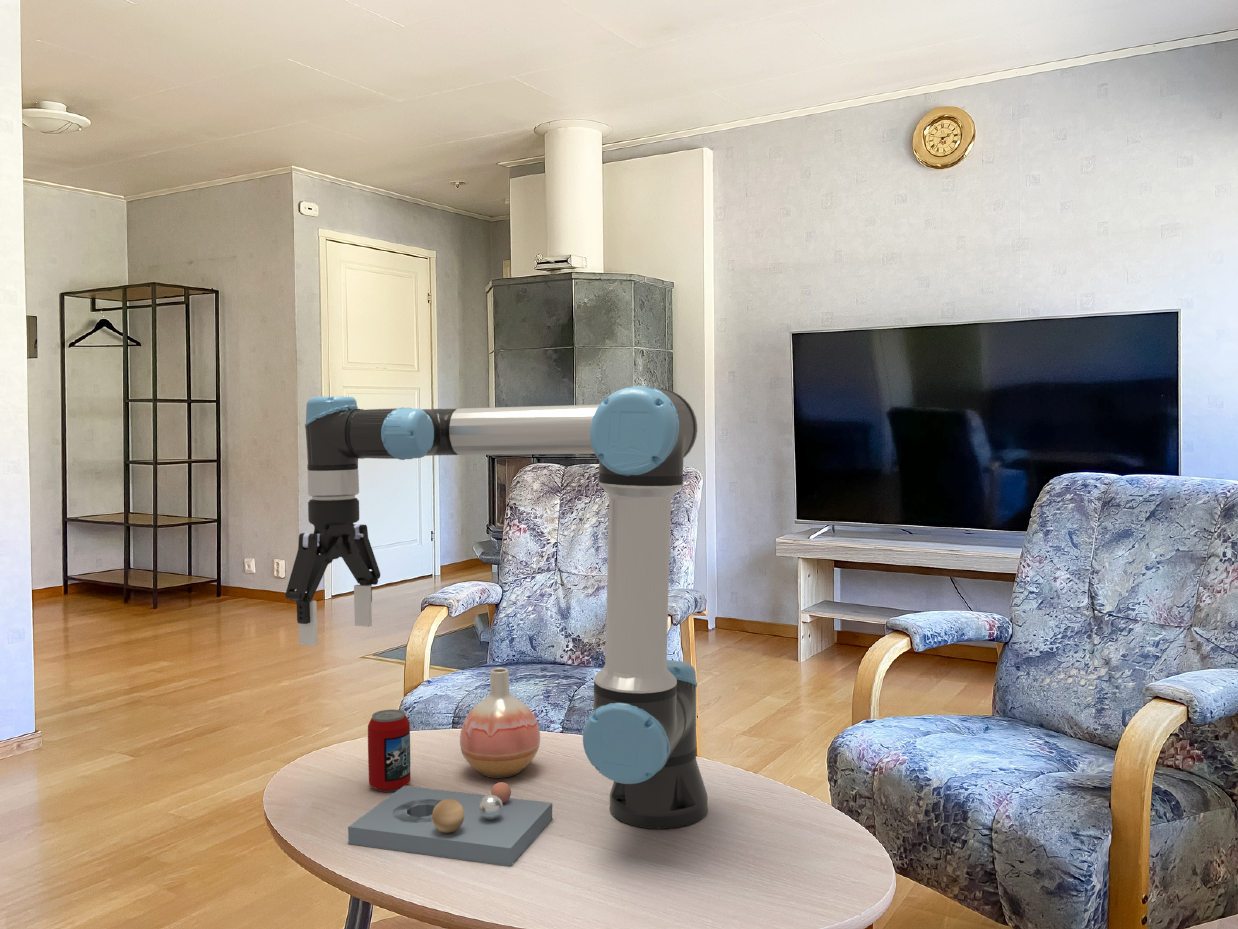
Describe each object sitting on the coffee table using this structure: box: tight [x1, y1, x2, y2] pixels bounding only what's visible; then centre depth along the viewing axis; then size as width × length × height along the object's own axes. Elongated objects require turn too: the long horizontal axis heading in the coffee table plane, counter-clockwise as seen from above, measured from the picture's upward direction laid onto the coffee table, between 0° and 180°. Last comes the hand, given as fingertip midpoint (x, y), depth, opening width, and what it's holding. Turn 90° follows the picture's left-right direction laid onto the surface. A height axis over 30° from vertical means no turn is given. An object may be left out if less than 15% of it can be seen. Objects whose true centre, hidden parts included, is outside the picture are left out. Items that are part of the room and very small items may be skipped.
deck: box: [347, 785, 553, 867], centre depth 141 cm, size 25×16×2 cm, turn 73°
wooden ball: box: [432, 799, 464, 833], centre depth 135 cm, size 4×4×4 cm
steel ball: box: [478, 793, 503, 820], centre depth 140 cm, size 4×4×4 cm
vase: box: [459, 667, 541, 779], centre depth 165 cm, size 14×14×18 cm
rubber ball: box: [490, 781, 512, 803], centre depth 146 cm, size 3×3×3 cm
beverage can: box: [367, 709, 412, 793], centre depth 159 cm, size 7×7×12 cm
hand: (337, 635), depth 149 cm, fingers open, 13 cm apart
